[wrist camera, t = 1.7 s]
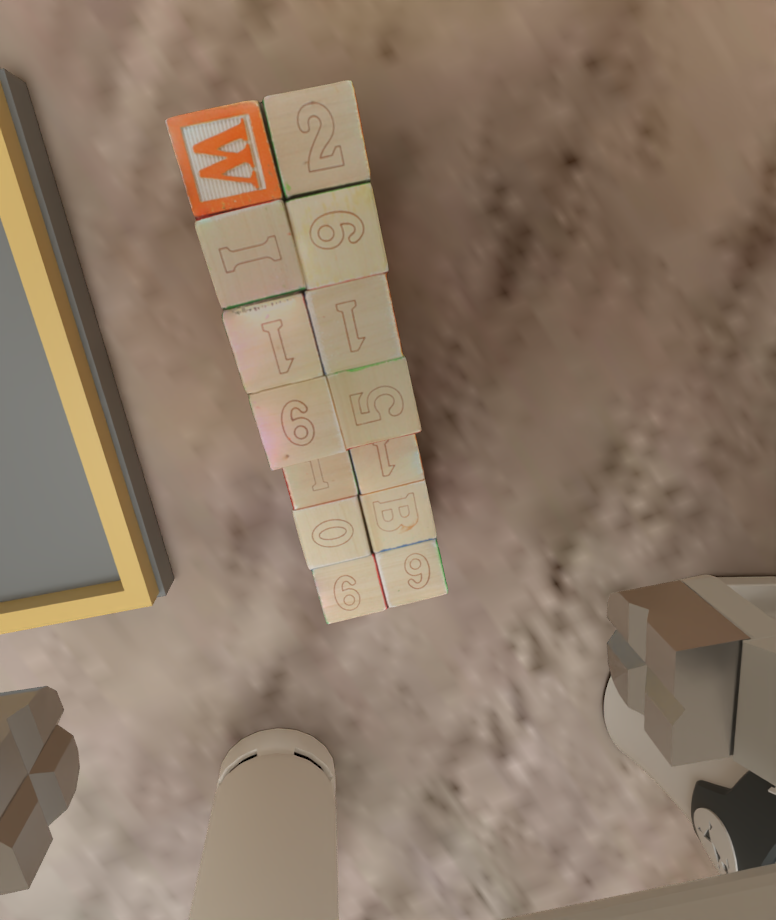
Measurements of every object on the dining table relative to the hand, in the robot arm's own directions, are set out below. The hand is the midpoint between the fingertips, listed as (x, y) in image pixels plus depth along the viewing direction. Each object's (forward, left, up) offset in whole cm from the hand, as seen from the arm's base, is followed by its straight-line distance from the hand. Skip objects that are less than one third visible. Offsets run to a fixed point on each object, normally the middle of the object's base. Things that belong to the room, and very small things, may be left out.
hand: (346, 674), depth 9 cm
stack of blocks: (0, -1, -27) cm, 27 cm away
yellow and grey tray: (+18, -3, -26) cm, 32 cm away
